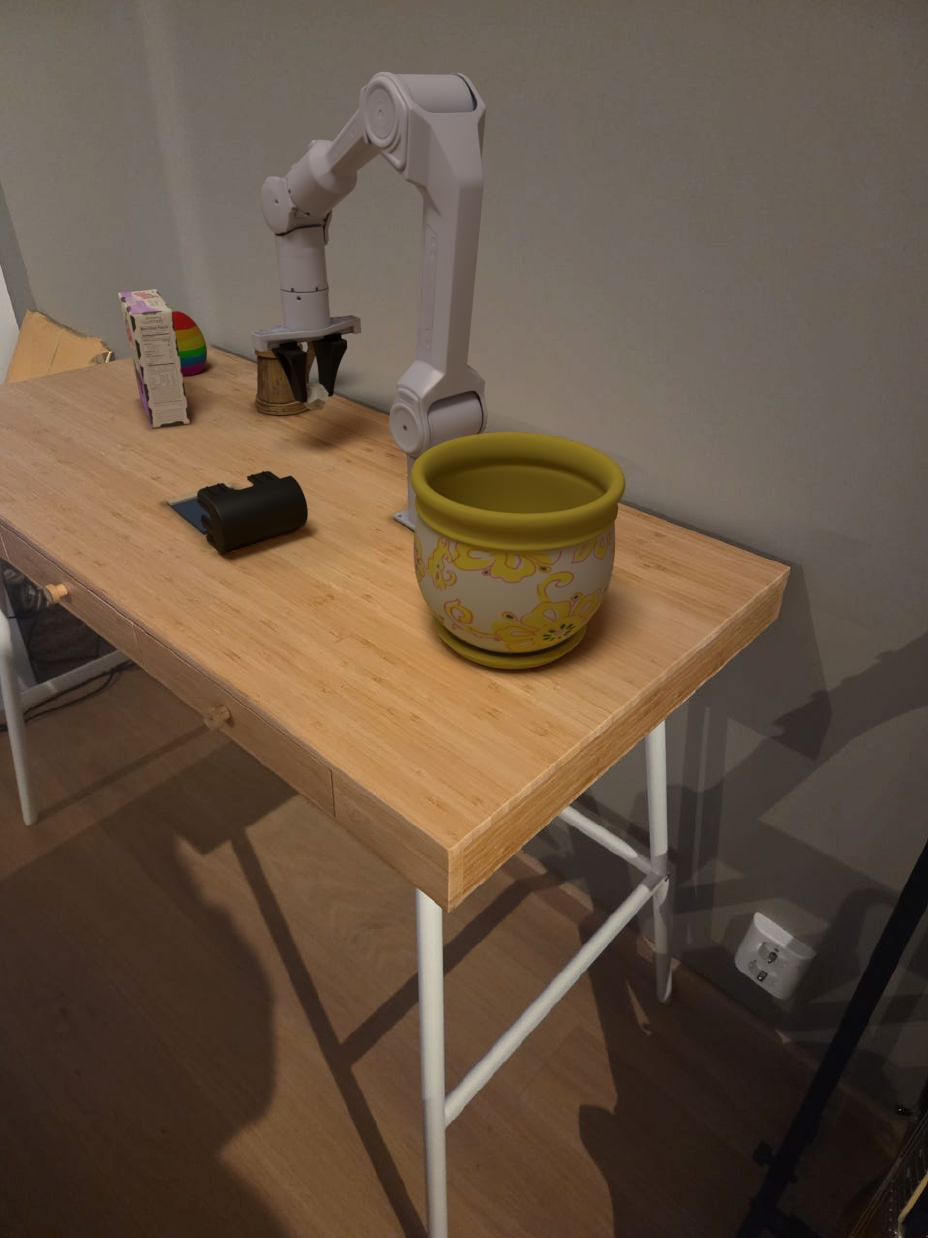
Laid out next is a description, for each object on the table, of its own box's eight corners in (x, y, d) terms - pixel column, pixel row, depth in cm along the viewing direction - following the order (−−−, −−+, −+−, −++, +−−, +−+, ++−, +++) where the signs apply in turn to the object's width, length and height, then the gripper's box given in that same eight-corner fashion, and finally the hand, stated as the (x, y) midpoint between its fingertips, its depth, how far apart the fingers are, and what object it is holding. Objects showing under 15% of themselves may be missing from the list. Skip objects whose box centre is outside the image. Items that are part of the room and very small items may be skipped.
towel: (266, 514, 98) (266, 509, 98) (203, 534, 94) (202, 529, 94) (228, 487, 105) (227, 481, 104) (167, 504, 100) (166, 499, 100)
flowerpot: (641, 628, 79) (667, 468, 70) (524, 718, 68) (537, 541, 59) (497, 564, 89) (503, 416, 80) (374, 633, 78) (365, 471, 69)
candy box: (139, 400, 131) (116, 290, 122) (177, 395, 133) (158, 287, 124) (151, 429, 121) (127, 312, 112) (192, 423, 123) (172, 308, 114)
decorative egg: (197, 361, 148) (187, 303, 143) (218, 372, 143) (209, 312, 138) (153, 370, 144) (141, 310, 138) (173, 381, 139) (161, 320, 133)
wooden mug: (349, 402, 131) (341, 282, 121) (270, 419, 125) (255, 293, 115) (322, 387, 137) (313, 272, 127) (246, 403, 130) (229, 282, 121)
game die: (296, 406, 109) (294, 384, 108) (320, 401, 111) (318, 379, 110) (310, 414, 107) (308, 391, 105) (334, 408, 109) (333, 385, 107)
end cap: (229, 566, 88) (219, 509, 84) (201, 541, 93) (190, 485, 89) (311, 539, 93) (306, 484, 89) (281, 516, 98) (274, 463, 94)
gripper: (337, 274, 107) (344, 379, 115) (234, 289, 100) (249, 400, 107) (367, 284, 103) (373, 392, 110) (262, 300, 95) (276, 415, 102)
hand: (314, 397), depth 108 cm, fingers closed on game die, 3 cm apart
